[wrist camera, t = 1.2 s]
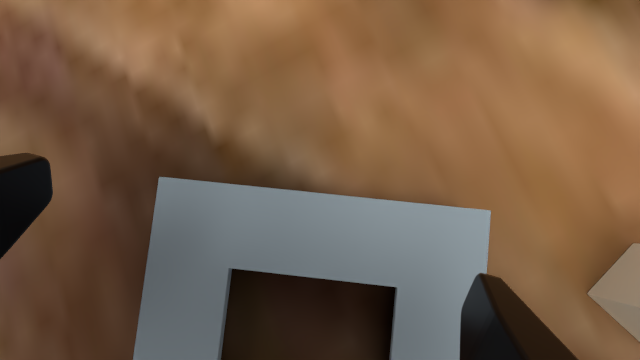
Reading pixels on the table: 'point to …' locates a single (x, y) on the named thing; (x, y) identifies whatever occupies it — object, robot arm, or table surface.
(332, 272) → the grey thick square frame
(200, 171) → the table surface
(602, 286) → the post
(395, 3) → the table surface
